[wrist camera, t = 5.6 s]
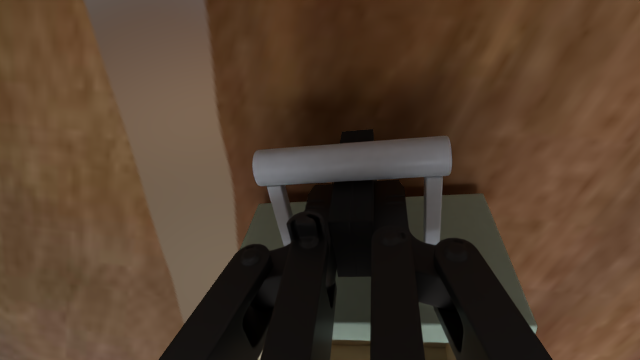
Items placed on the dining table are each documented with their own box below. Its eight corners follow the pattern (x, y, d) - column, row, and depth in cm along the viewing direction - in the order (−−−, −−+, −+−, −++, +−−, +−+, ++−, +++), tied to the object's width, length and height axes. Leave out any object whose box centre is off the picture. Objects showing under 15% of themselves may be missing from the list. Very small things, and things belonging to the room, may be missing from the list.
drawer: (227, 106, 18) (146, 205, 12) (497, 79, 16) (583, 184, 9) (300, 335, 29) (279, 451, 23) (464, 339, 27) (494, 470, 20)
